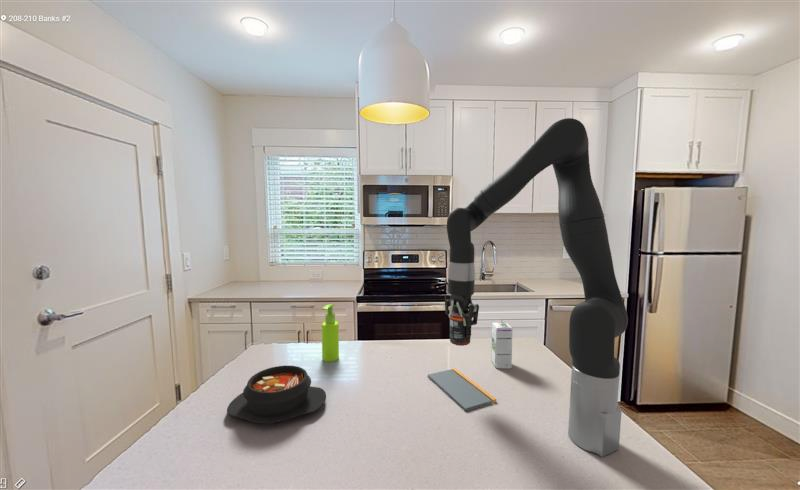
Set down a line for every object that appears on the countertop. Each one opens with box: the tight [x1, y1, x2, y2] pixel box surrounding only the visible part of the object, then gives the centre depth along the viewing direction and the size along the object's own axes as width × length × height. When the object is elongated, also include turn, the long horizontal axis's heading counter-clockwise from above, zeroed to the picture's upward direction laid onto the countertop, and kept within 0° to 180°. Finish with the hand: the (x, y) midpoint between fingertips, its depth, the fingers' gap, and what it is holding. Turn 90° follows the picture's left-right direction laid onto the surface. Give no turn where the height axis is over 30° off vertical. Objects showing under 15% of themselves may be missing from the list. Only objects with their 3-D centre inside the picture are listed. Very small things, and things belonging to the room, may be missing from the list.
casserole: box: [226, 365, 327, 424], centre depth 84 cm, size 25×19×8 cm
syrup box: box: [490, 321, 513, 370], centre depth 110 cm, size 6×6×14 cm
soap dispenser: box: [321, 303, 340, 363], centre depth 114 cm, size 6×7×20 cm
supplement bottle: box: [449, 305, 471, 347], centre depth 92 cm, size 6×6×11 cm
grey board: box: [427, 367, 497, 412], centre depth 95 cm, size 20×11×1 cm, turn 25°
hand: (459, 333), depth 92 cm, fingers closed on supplement bottle, 6 cm apart
